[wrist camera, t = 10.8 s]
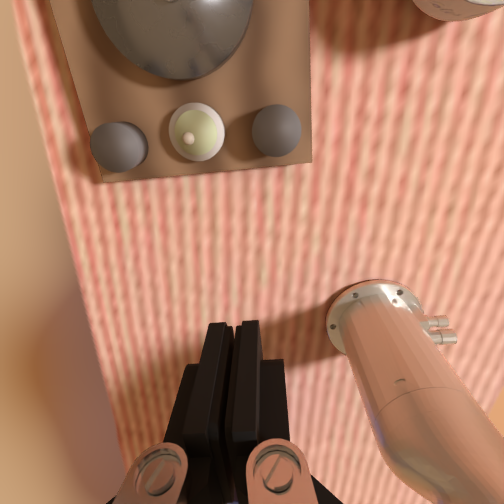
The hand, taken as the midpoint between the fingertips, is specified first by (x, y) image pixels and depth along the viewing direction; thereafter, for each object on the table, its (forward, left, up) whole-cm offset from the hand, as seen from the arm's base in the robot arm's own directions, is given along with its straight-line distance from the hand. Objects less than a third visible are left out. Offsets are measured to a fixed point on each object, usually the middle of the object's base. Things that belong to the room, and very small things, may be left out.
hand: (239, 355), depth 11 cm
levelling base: (+5, -13, -27) cm, 30 cm away
